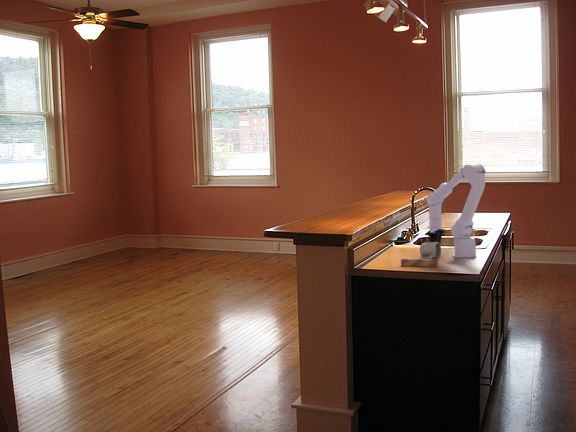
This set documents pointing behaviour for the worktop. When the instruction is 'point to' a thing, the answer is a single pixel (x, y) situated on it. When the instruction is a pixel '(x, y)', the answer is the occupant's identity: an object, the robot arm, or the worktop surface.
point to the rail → (419, 262)
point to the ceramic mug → (430, 250)
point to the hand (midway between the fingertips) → (436, 245)
